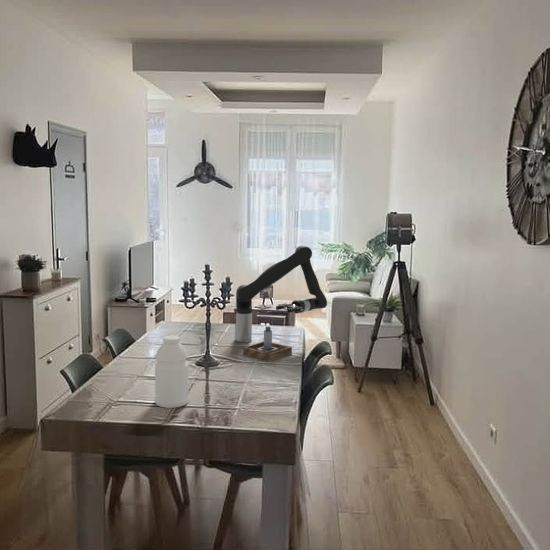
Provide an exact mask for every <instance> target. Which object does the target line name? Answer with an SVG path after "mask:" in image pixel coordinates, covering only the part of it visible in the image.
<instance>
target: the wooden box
mask: <svg viewBox="0 0 550 550" xmlns="http://www.w3.org/2000/svg"><path fill="white" fill-rule="evenodd" d="M292 347H293V346H290V345H286V344H281V343H277V342H273V341H272V350H270V351H267V350H264V340H263V341H260V342H256V343H253V344H250V345H246V346H244V347H242V349H243V350H242V351H243V352H242V355H245V356H248V357H252V358H256V359H260V360H264V361H268V362H271V361H276V360H278V359H281V358H284V357H286V356H289V355H292V353H293V351H292V350H293V348H292Z"/></svg>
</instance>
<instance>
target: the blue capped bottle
mask: <svg viewBox="0 0 550 550" xmlns="http://www.w3.org/2000/svg"><path fill="white" fill-rule="evenodd" d="M271 328H272V327H271V326H265V330H263V341H264V350H267V351H270V350H272V342H273V330H272V329H271Z"/></svg>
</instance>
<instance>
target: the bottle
mask: <svg viewBox="0 0 550 550" xmlns="http://www.w3.org/2000/svg"><path fill="white" fill-rule="evenodd" d="M162 342H163V343H162V344H161V345H160V346H159V347H158V349H157V351H156V353H155V356H154V357H155V358H154V359H156V360H157V361H156V363H154V382H155V383H154V388H155V389H154V395H155V396H154V402H155V405H156V406H158V407H161V408H166V409H172V408H173V409H174V408H179V407H183V406H185V405H186V404H188V402H189V398H190V396H189V365H190V364H189V362H188V361H187V360H186V359H187V358H188V357H189V355H188V352H187V350H186V348H185V346H184V345H183V344H182V343H180V342H181V339H180V336H178V335H172V334H171V335H165V336H164V337H163V338H162Z"/></svg>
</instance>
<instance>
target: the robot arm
mask: <svg viewBox="0 0 550 550" xmlns="http://www.w3.org/2000/svg"><path fill="white" fill-rule="evenodd" d="M312 256H313V251H312V248H310V247H309V246H306V245H298V246H297V247H296V249H295V250H294V253H292V254H290V256H288V257H287V258H285V259H282V260H281V261H278V262H276V263H273V264H272V265H271V266H269V267H268V268H266V269H265V270H264V271H263V272H262V273H261V274H260V275H259V276H258V277H257V278H256V279H255V280H254V281H252V282H251V283H248V284H241V285H239V286H238V287H237V289H236V294H235V295H236V296H235V300H236V301H235V307H236V315H235V316H236V317H235V318H236V319H235V320H236V324H235V325H234V340H235V341H236V342H239V343H250V342H252V338H253V337H252V335H253V333H252V332H253V306H252V305H253V303H252V300H253V299H254V298H255V297H256V296H257V295H258V294H260V293H261V292H263V291H264V290H265V289H267V288H269V287H270V286H272V285H273V284H275V283H277V282H278V281H279V280H281V279H282V278H284V277H285V276H286V275H288V274H289V273H290V272H292V271H293V270H294V269H295V268H297V267H299V266H300V269H301V270H302V272H303V273H302V274H303V276H304V280H305V284H306V287H307V290H308V293H309V294H310V295H312V296H314V297H310V298H304V299H296V300H293V301H292V302H291V303H286V302H284V303H279V304H278V305H276V306H275V310H276V311H279V310H280V311H281V310H284V311H286V313H288V314H290V313H294V314H302V313H306V312H309V311H313V310H318V309H325V308H326V307H327V306H328V300H327V297H326V295H325V294H324V292H323V290H322V289H321V287H320V284H319V280H318V278H317V275H316V273H315V271H314V268H313V266H312V262H311V258H312Z"/></svg>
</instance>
